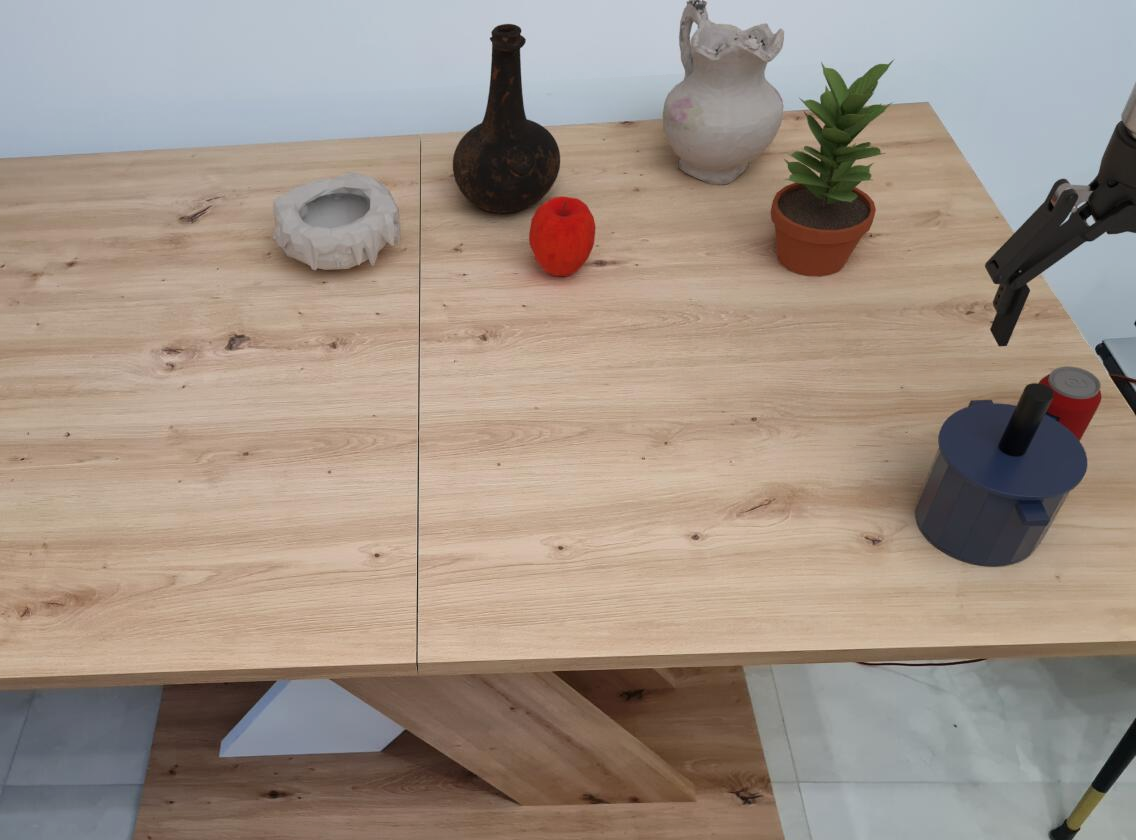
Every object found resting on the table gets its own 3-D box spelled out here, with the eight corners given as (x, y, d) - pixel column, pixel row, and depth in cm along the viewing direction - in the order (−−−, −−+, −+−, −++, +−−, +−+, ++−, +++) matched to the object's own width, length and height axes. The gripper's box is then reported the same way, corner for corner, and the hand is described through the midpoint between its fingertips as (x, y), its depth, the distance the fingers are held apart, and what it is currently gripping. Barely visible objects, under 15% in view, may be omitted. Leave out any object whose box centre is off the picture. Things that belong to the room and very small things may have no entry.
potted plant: (740, 245, 164) (775, 51, 142) (826, 222, 166) (874, 29, 144) (792, 297, 154) (838, 98, 132) (882, 272, 157) (943, 73, 134)
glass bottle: (469, 236, 171) (463, 64, 150) (442, 182, 183) (433, 16, 162) (573, 215, 173) (581, 43, 152) (540, 163, 185) (543, -3, 164)
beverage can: (1002, 435, 133) (1038, 360, 124) (1061, 439, 131) (1100, 364, 122) (1011, 472, 128) (1048, 397, 119) (1071, 477, 127) (1113, 402, 118)
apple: (538, 295, 159) (539, 224, 150) (520, 260, 166) (520, 190, 157) (601, 283, 160) (606, 212, 151) (581, 248, 167) (585, 178, 157)
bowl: (303, 306, 162) (292, 250, 154) (261, 242, 174) (250, 187, 167) (425, 267, 166) (421, 211, 159) (375, 208, 179) (369, 153, 172)
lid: (1054, 409, 120) (1087, 344, 113) (1105, 503, 110) (1144, 438, 103) (920, 412, 121) (944, 349, 114) (958, 506, 111) (987, 442, 104)
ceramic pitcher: (625, 167, 184) (629, 26, 165) (695, 117, 191) (707, -24, 171) (727, 211, 173) (745, 65, 153) (798, 156, 180) (823, 9, 160)
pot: (1009, 464, 129) (1044, 393, 121) (1066, 584, 117) (1110, 514, 108) (895, 467, 130) (922, 396, 122) (939, 586, 118) (973, 516, 109)
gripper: (1305, 98, 89) (1187, 306, 104) (997, 115, 91) (927, 317, 107) (1354, 142, 84) (1223, 354, 99) (1027, 159, 86) (949, 364, 102)
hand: (1070, 335), depth 103 cm, fingers open, 13 cm apart
